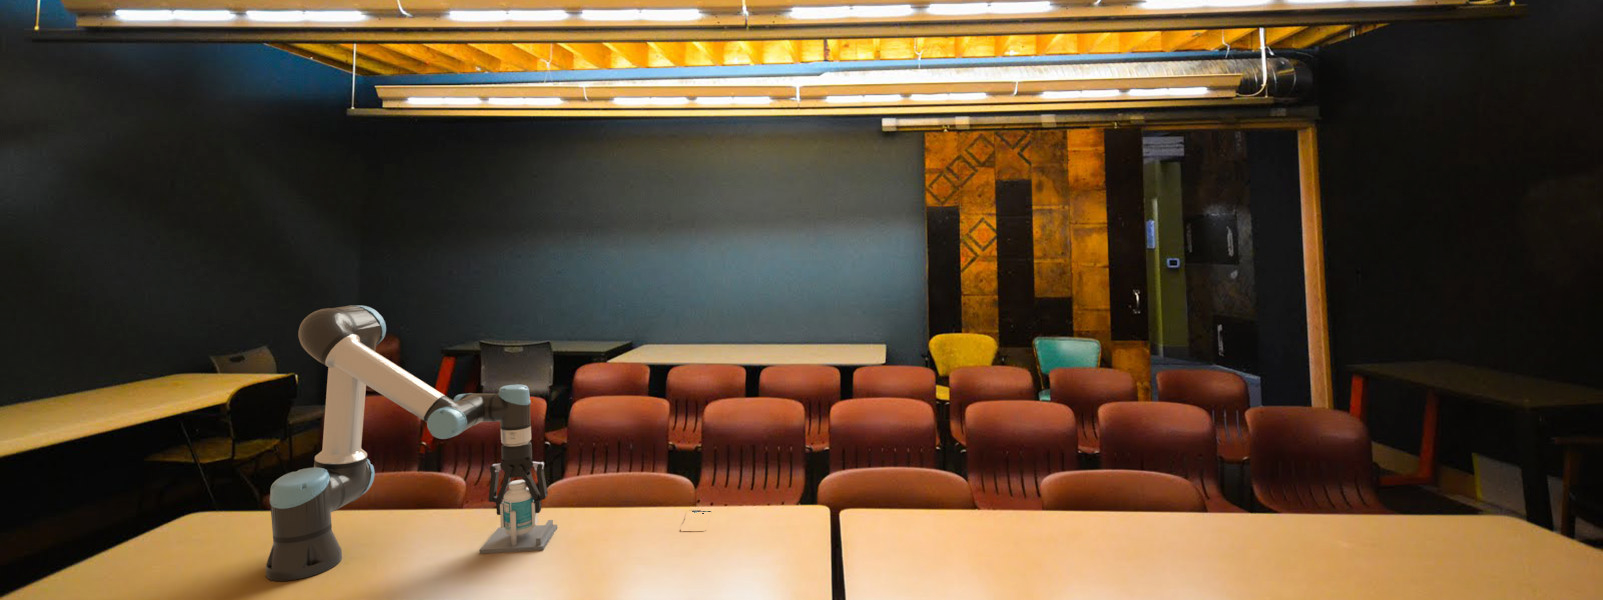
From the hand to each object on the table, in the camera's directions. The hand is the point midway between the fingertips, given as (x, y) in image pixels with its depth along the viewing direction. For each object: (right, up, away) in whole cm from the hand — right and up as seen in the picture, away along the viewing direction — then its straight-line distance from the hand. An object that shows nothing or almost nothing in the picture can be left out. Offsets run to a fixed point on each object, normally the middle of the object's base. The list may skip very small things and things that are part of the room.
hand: (519, 525), depth 176 cm
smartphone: (+46, -4, +12) cm, 48 cm away
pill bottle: (0, -2, 0) cm, 2 cm away
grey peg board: (0, -4, 0) cm, 4 cm away
